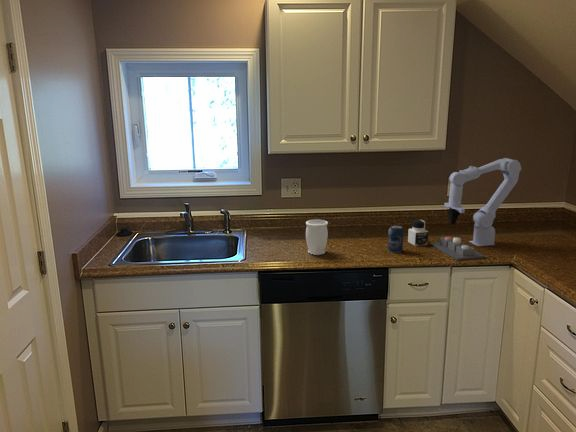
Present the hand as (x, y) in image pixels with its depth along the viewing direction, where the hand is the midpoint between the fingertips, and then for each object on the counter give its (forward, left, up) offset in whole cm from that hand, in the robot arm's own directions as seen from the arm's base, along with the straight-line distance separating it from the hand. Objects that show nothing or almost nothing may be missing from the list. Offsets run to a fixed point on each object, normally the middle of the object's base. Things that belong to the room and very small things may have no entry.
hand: (452, 224), depth 221 cm
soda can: (+32, +3, -11) cm, 33 cm away
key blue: (+4, +17, -9) cm, 20 cm away
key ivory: (+4, +10, -7) cm, 13 cm away
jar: (+69, -4, -11) cm, 69 cm away
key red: (+4, +3, -9) cm, 10 cm away
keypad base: (+4, +10, -10) cm, 15 cm away
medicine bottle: (+16, -5, -11) cm, 19 cm away
